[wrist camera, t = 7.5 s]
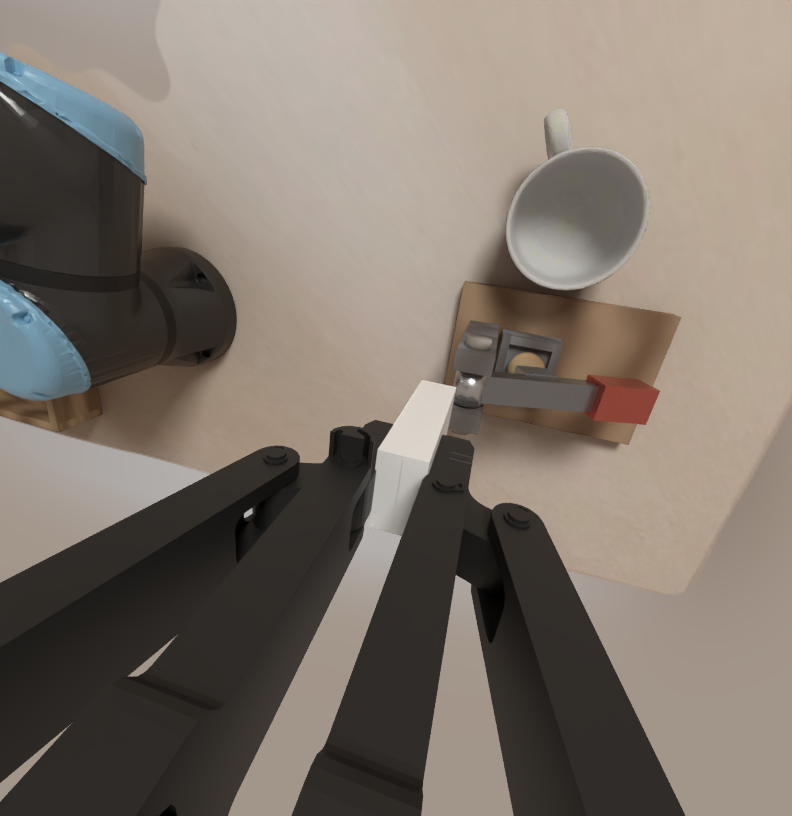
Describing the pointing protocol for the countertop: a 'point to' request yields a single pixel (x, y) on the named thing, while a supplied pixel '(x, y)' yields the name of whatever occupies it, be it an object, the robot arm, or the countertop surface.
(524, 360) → the walnut
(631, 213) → the teacup
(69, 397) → the open wooden box
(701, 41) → the countertop surface
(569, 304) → the press base
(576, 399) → the lever
